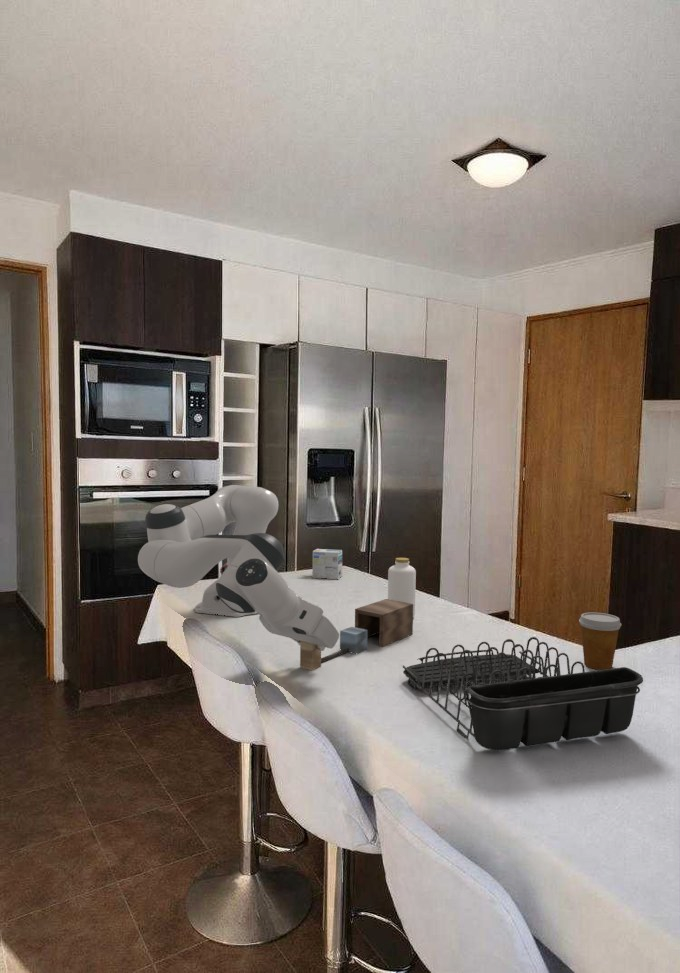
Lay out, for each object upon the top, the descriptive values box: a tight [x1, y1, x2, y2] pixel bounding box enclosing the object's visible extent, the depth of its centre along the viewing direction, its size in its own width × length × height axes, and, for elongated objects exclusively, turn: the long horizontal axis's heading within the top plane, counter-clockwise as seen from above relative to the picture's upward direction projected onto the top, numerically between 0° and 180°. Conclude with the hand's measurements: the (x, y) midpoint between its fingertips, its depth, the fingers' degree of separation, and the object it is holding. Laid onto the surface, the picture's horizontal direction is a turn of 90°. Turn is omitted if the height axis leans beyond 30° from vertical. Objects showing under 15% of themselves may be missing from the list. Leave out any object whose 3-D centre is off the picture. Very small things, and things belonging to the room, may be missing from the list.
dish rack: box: [402, 636, 644, 751], centre depth 136 cm, size 34×44×12 cm
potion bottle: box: [387, 557, 417, 618], centre depth 203 cm, size 8×8×18 cm
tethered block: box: [299, 626, 368, 671], centre depth 165 cm, size 21×5×9 cm, turn 142°
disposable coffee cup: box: [578, 612, 622, 671], centre depth 161 cm, size 10×10×12 cm
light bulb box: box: [311, 548, 343, 580], centre depth 261 cm, size 11×7×11 cm, turn 77°
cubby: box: [354, 598, 414, 648], centre depth 182 cm, size 15×9×8 cm, turn 142°
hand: (313, 645), depth 158 cm, fingers open, 4 cm apart
